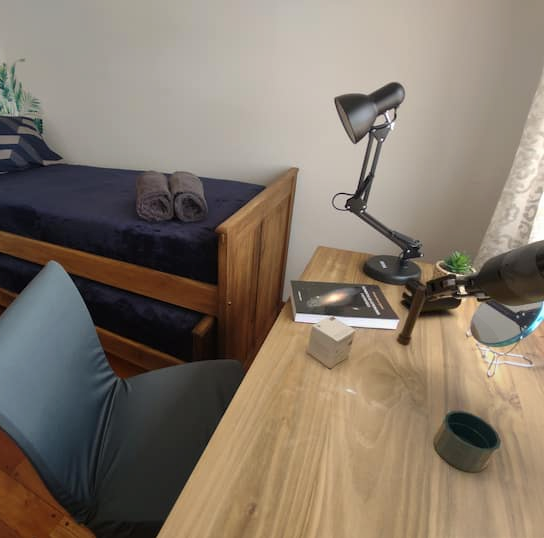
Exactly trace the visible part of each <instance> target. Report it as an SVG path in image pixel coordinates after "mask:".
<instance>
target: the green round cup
mask: <svg viewBox="0 0 544 538" xmlns="http://www.w3.org/2000/svg"><path fill="white" fill-rule="evenodd" d="M499 435H500V434H499V432H497V431H496V429H495V428H494V427H493V426H492V425H491V424H490V423H489V422H488V421H486V420H485V419H483V418H482V417H480V416H478V415H476V414H473V413H472V412H468V411H465V410H451V411H449V412H447V413H446V414H445V416H444V418H443V420H442V421H441V423H440V425H439V426H438V429H437V431H436V433H435V435H434V437H433V443H434V448H435V450H436V452H437V453H438V454H439V456H440V457H441V458H442V459H443V460H444V461H445V462H446V463H448V464H449V465H450V466H451V467H453V468H456V469H458V470H460V471H463V472H467V473H477V472H480V471H482V470H484V469H485V468H486V467H487V466H488V465H489V463H490V462H491V460H492V459H493V458H494V456H495V455H496V453H497V452H498V450H499V449H500V447H501V443H502V440H501V438H500V436H499Z"/></svg>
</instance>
